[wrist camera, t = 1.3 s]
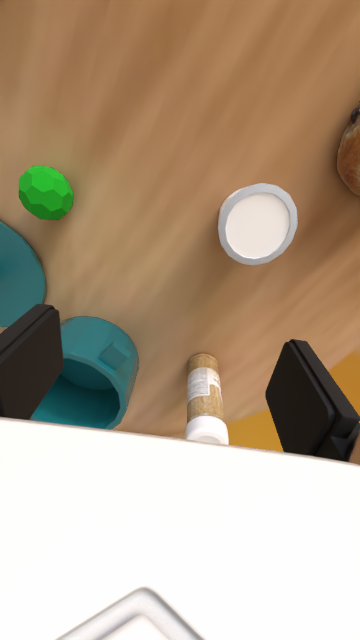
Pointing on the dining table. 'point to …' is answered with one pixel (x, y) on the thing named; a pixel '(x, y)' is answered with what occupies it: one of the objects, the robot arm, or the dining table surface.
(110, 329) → the pot
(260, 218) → the white cup
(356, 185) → the bread roll
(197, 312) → the dining table surface
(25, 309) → the lid
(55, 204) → the polyhedron
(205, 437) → the spice jar
